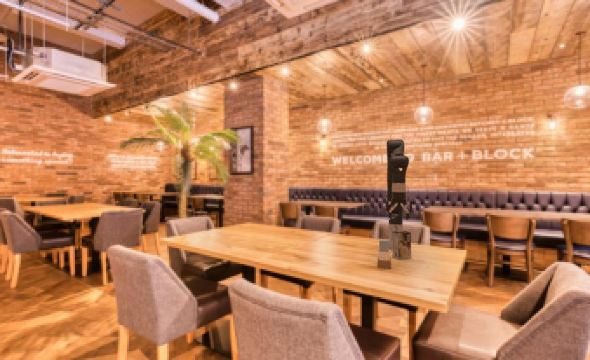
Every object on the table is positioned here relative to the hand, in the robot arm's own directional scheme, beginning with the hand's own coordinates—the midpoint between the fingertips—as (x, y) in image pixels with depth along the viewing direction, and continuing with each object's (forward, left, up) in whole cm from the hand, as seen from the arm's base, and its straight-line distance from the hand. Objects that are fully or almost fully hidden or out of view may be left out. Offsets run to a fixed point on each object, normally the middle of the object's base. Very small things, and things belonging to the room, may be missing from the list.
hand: (398, 219), depth 167 cm
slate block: (+7, -8, -17) cm, 20 cm away
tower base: (+7, -8, -26) cm, 28 cm away
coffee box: (-14, +3, -26) cm, 30 cm away
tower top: (+7, -8, -21) cm, 24 cm away
